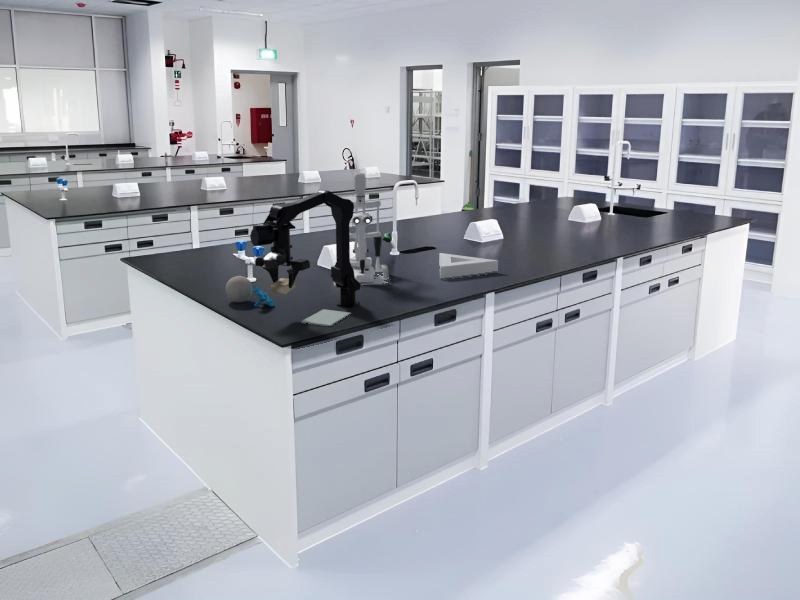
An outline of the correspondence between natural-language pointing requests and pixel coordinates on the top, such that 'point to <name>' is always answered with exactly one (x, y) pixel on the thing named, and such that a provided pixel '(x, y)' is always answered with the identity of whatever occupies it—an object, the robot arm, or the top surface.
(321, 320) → the mat
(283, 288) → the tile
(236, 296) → the grey ball
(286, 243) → the robot arm
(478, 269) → the triangular ruler
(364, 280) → the microscope
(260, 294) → the blue bumpy slanted figure
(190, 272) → the top surface
